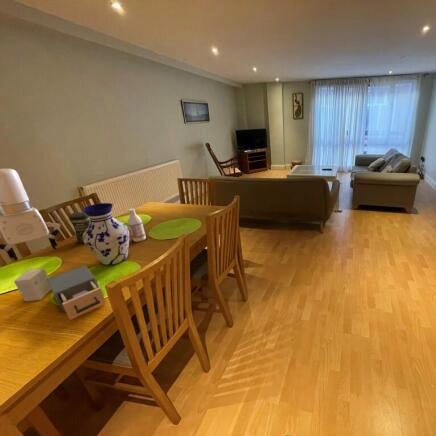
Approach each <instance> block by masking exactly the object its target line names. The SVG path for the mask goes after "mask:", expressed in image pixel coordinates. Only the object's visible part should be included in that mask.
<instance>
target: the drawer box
mask: <svg viewBox="0 0 436 436" xmlns="http://www.w3.org/2000/svg"><path fill="white" fill-rule="evenodd" d="M47 281H48V283H49V285H50V287H51V289H52V290H51V292H52V294H53V296H54V298H55V299H56V301H57V304H58V305H59V308H60V309H61V311H62V312H63V313H65V312H66V311H65V309H64V307H63V305H62V303H63V301H62V299H61V296H60V294H59V293H62V292H64V291H67V290H69V289H72V288H74V287H77V286H79V285H82V284H84V283H87V282H89V281H92V282H93V283H94V284H95V285H96V287H97V288H99V287H100V286H99V284H98V281H97V279H96V277H95V275H94V274H93V273H92V272H91V271H90V269H88V267H87V266H86V265H81V266H79V267H75V268H72V269H69V270H67V271H65V272H61V273H59V274H56V275H53V276H51V277H49V278H48V279H47Z"/></svg>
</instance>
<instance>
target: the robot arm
mask: <svg viewBox="0 0 436 436" xmlns="http://www.w3.org/2000/svg"><path fill="white" fill-rule="evenodd" d="M49 227H50V228H53V230H52V232H49ZM60 229H61V224H60V223H56V222H49V221H48V222H47V221H45V220H44V219H43V216H42V214H41V213H40V212H39V210H38V209H37V208H36V207H33V205H32V203H31V201H30V199H29V196H28V194H27V192H26V189H25V187H24V184H23V183H22V180H21V178H20V175H19V173H18V171H16V170H15V169H14V168H0V239H2V238H3V239H4V241H5V243H0V250H3V251H6V253H7V255H8V257H9V258H10V259H14V261H18V259H19V258H18V256H17V254H16V252H15V250H14V248H13V246H14V245H17V244H23V243H26V242H29V241H34V240H37V239H41V238H45V237H46V238H47V239H48V241H49V244H50V245H51V248H52V249H53V250H56V249H57V247H56V246H58V243H57V240H56V239H55V238H56V237H57V235H58V234H59V232H60Z"/></svg>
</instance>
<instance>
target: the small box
mask: <svg viewBox="0 0 436 436" xmlns="http://www.w3.org/2000/svg"><path fill="white" fill-rule="evenodd" d="M48 278H50V277H49V276H48V274H47V271H46V269H45V268H35V269H29V270H27V271H26V272H24V273H23V274H22V275H20V276H19V277H17V278H16V279H14V280H13V282H14V285H15V286H16V288H17V290H18V291H19V293H20V295H21V297H22V298H23V300H24V302H33V301H40V300H42V299H43V298H44V297H45V296H46V295H47V294H49V293H50V291H52V289H51V287H50V285H49V283H48V281H47V279H48Z"/></svg>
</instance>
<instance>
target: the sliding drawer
mask: <svg viewBox="0 0 436 436" xmlns="http://www.w3.org/2000/svg"><path fill="white" fill-rule="evenodd" d="M85 290H87V293H85V294H83V295H80V296H78V297H76V298H73V297H72V296H73V295H75V294H78V293H80V292H83V291H85ZM59 294H60V296H61V299H62V301H63V303H62V305H63V307H64V309H65V311H64V312H65V314H66V315H67V317H68V320H69V321H72V320H74V319H75V318H78V317H80V316H82V315H85V314H87V313H88V312H90V311H93V310H95V309H96V308H98V307H101V306H103V305H105V304H106V303H107V301H106V298H105V295H104V292H103V290H102V288H101V287H100V286H99V288H97V287H96V285H95V284H94V283H93V282H92V281H89V282H87V283H84V284H82V285H79V286H77V287H74V288H72V289H69V290H67V291H64V292H62V293H59Z"/></svg>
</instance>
